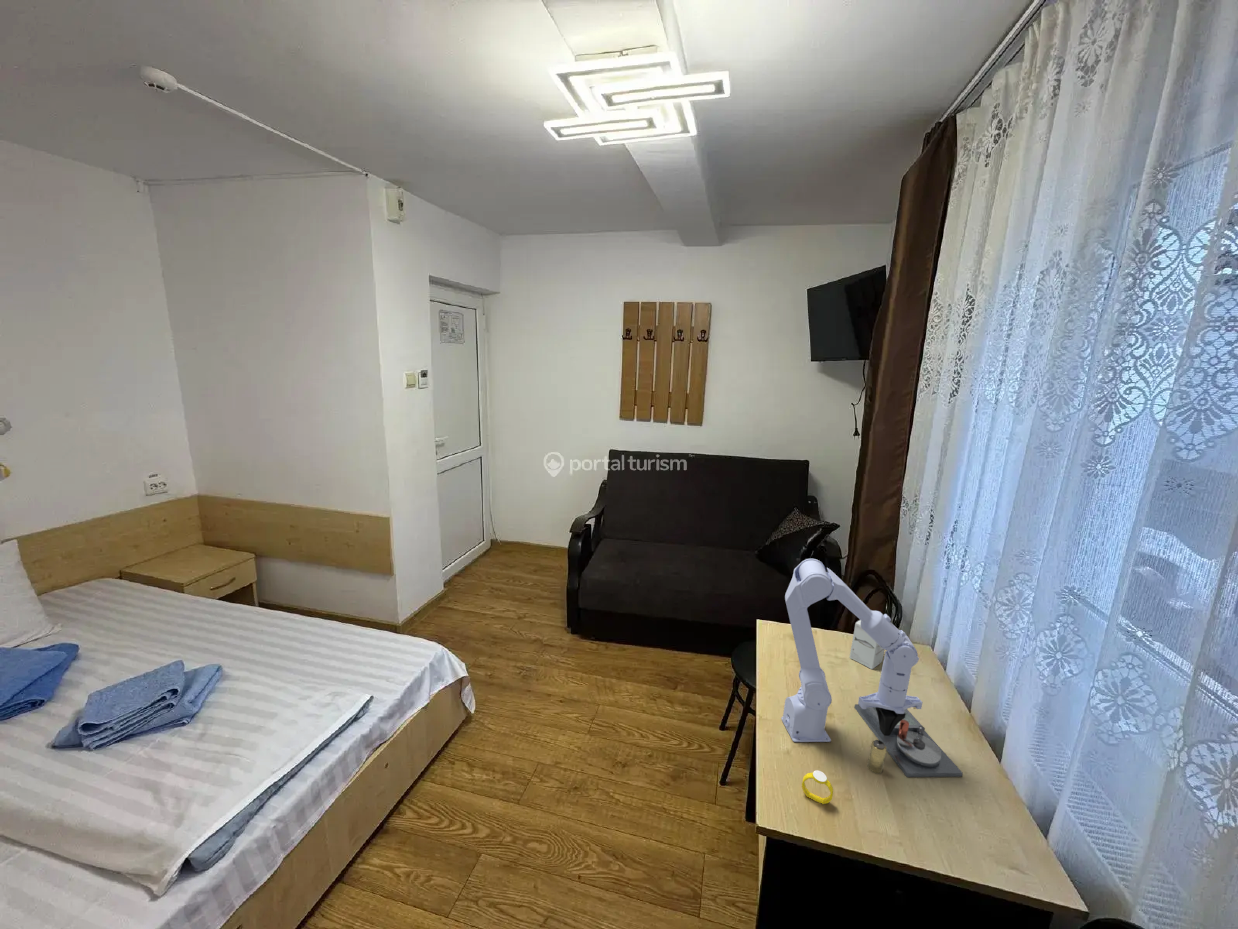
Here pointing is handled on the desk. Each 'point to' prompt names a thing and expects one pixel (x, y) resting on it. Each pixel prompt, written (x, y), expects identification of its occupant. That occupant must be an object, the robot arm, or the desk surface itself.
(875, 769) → the cylinder
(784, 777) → the desk surface
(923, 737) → the crank
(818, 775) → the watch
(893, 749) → the crank bench
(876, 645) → the supplement box
